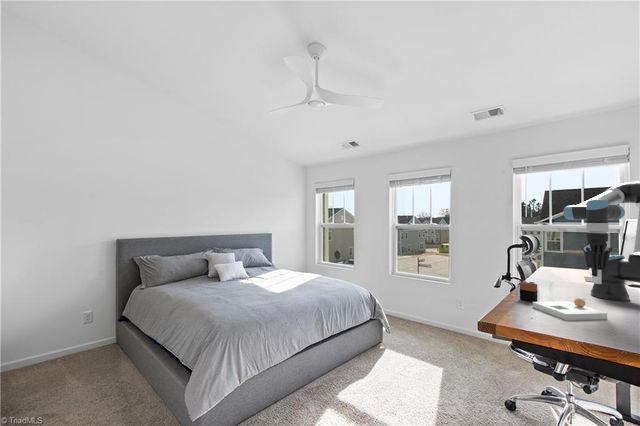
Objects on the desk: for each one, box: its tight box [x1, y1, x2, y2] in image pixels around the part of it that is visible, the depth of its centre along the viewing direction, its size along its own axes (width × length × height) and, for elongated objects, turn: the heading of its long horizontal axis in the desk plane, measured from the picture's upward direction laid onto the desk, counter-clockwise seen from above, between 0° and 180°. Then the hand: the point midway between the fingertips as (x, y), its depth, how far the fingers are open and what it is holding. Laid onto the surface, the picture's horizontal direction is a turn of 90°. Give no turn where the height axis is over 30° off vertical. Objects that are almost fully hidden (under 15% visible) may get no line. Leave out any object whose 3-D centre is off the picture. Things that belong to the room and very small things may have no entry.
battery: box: [519, 280, 538, 303], centre depth 156 cm, size 4×7×10 cm, turn 35°
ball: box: [573, 297, 586, 307], centre depth 136 cm, size 4×4×4 cm
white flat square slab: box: [532, 300, 608, 321], centre depth 136 cm, size 19×18×2 cm
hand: (597, 283), depth 137 cm, fingers closed
